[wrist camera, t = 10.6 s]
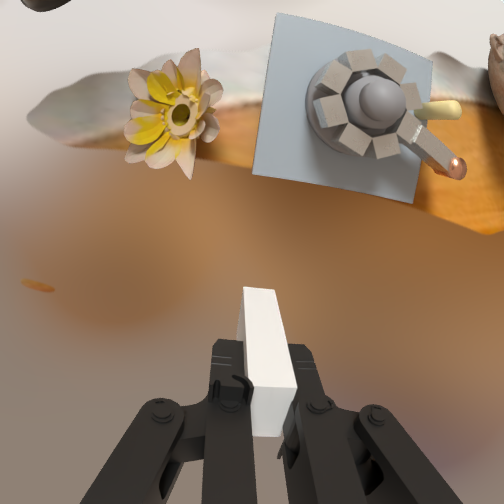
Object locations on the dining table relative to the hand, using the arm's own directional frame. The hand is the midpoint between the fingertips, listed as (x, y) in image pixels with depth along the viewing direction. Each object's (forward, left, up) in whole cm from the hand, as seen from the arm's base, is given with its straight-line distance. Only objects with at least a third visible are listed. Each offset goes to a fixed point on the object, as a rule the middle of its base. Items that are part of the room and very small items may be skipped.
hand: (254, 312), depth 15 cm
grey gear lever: (-14, +16, -22) cm, 30 cm away
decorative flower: (-11, -10, -27) cm, 31 cm away
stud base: (-15, +12, -26) cm, 33 cm away
